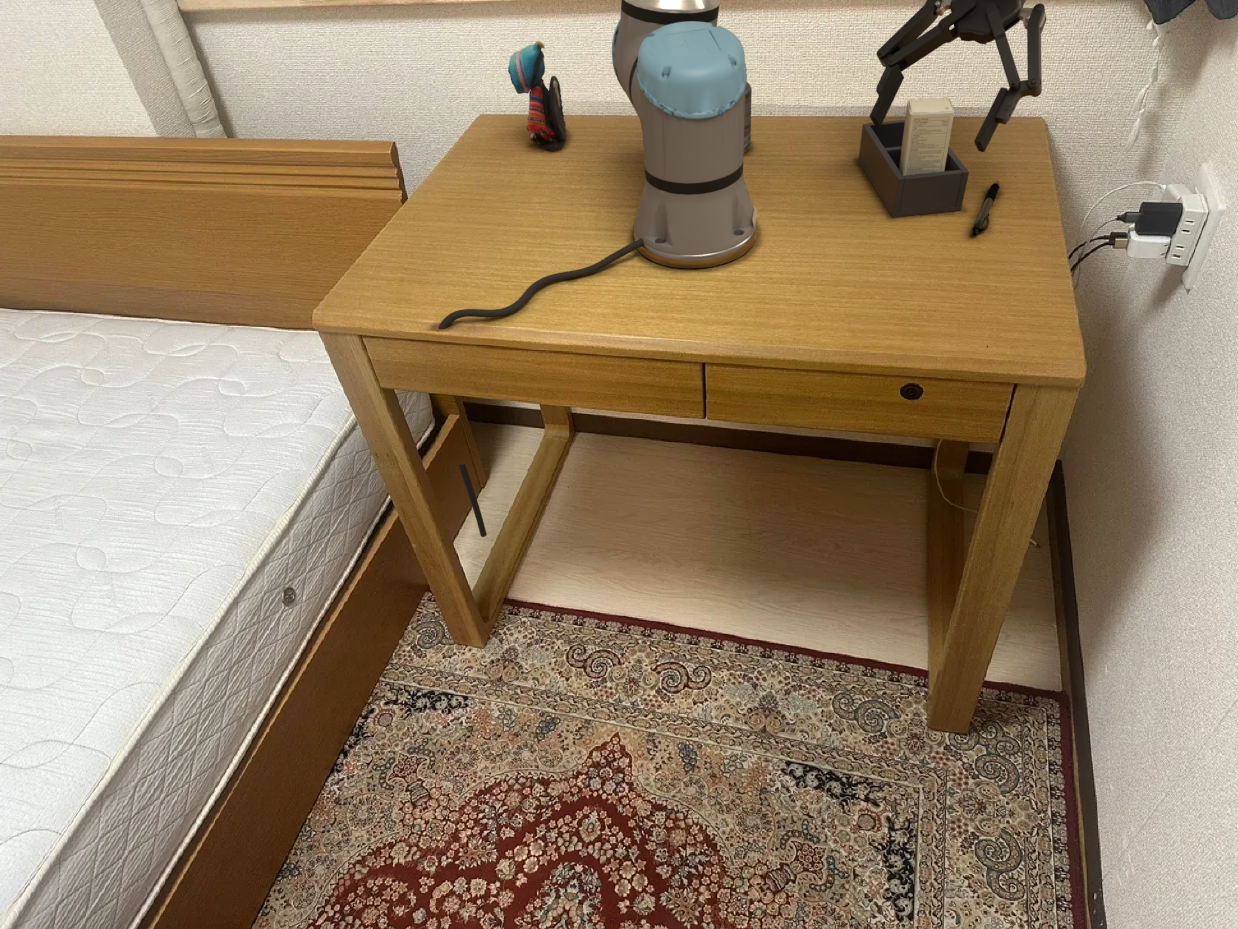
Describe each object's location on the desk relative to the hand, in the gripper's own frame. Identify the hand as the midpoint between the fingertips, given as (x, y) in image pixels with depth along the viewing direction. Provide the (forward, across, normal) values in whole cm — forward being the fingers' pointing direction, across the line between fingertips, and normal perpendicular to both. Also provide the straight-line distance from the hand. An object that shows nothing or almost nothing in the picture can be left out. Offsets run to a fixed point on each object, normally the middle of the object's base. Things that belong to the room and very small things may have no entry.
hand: (925, 134), depth 103 cm
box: (+5, 0, -6) cm, 8 cm away
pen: (+5, -9, -8) cm, 13 cm away
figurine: (+16, +54, +3) cm, 57 cm away
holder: (+4, +3, -8) cm, 10 cm away
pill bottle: (+6, +29, -6) cm, 30 cm away
